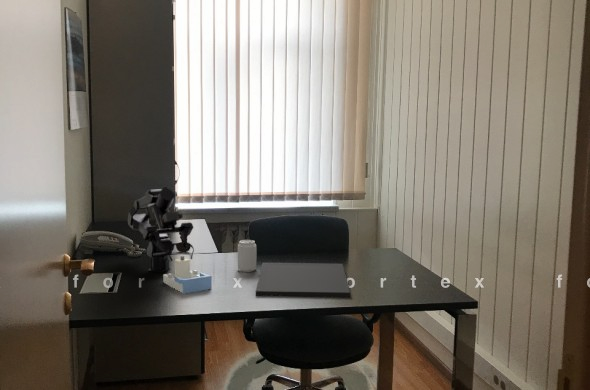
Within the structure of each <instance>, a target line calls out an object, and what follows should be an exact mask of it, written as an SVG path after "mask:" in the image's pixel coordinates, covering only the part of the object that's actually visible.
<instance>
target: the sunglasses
mask: <svg viewBox="0 0 590 390" xmlns="http://www.w3.org/2000/svg"><path fill="white" fill-rule="evenodd" d="M172 243H173V242H172ZM174 248H175V249H176V250H177V252H180V253H182V252H184V253H187V252H189V251H190V250H191V249H192V253H191V255H190V260H192V258H193V254H194V253H195V248H194V246H193V244H192V243H190V242H188V241H187V248H185V247H184V245H183V243H182V241H180V242H175V243H173V247H172V252H173V251H174V250H175V249H174ZM168 259H169V260H170V261H173V258H172V256H171V255H168Z"/></svg>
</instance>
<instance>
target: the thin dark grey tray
mask: <svg viewBox="0 0 590 390" xmlns="http://www.w3.org/2000/svg"><path fill="white" fill-rule="evenodd" d="M345 271H346V270H345V268H344V265H343V263H319V262H318V263H316V262H315V263H311V262H310V263H309V262H308V263H305V262H262V264H261V268H260V272H259V276H258V280H257V284H256V289H255V297H280V298H281V297H287V298H288V297H291V298H292V297H293V298H294V297H295V298H298V297H299V298H343V299H344V298H346V299H347V298H351V291H350V286H349V283H348V279H347V277H346V272H345Z"/></svg>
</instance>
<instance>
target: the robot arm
mask: <svg viewBox="0 0 590 390" xmlns="http://www.w3.org/2000/svg"><path fill="white" fill-rule="evenodd" d="M175 197H176V195H175V192H174V191H173V190H171V189H168V187H167V186H162V187H161V188H158V189H157V188H156V189H148V190H147V191H146V192H145V193H144V195H143V197H142V196H141V197H140V198H138V199H136V200H134V202H133V206H132V207H131V208H130V210H129V211H128V217H127V224H128V226H129V228H131V229H132V230H135V231H139V232H140V234H142V237H143V240H144V241H148V242H149V243H148V246H147V247H146V254H147V256H148V257H150V268H149V269H147V270H148V272H153V273H164V272H167V271H169V270H171V267H170V258H169V256H168V255H170V256H171V255H172V254H173V253H172V252H173V251H172V247H173V241H172V240H171V239H170V235H168V234H175V233H177V234H178V235H179V239H180V242H182V243H183V245H184V247H185V248H187V242H188V237H189V236H191V233H192V231H193V229H194V224H193V223H192V222H190V221H188V222H181V224H180V226H177V223H178V222H177V221H179V220H181V219H183V217H184V216H183V213H182V210H181V209H180V210H179V209H178V210H176V211H170V210H169V208H170V207H171V206H172V204H173V202H174V199H175ZM151 206H152V210H151V213H150V212H149V207H151ZM138 210H145V211H146V212H145V213H137V212H138ZM151 214H153V215H154V218H155V220H156V221H155V224H156V225H152V224H150V219H151Z"/></svg>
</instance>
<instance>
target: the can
mask: <svg viewBox="0 0 590 390" xmlns="http://www.w3.org/2000/svg"><path fill="white" fill-rule="evenodd" d="M256 269H257V244H256V243H255V240H252V239H242V240H240V241H239V242H238V244H237V270H239V272H242V273H252V272H254V271H255V270H256Z"/></svg>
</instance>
